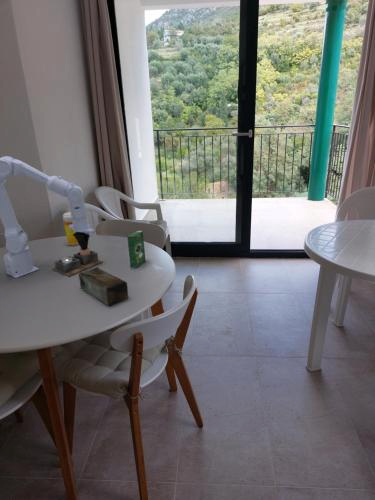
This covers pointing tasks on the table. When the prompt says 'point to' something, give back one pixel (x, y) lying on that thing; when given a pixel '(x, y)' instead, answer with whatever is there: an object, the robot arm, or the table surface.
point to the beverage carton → (103, 286)
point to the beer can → (69, 233)
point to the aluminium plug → (67, 260)
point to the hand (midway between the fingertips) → (84, 249)
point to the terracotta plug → (85, 252)
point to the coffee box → (136, 248)
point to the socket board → (77, 264)
